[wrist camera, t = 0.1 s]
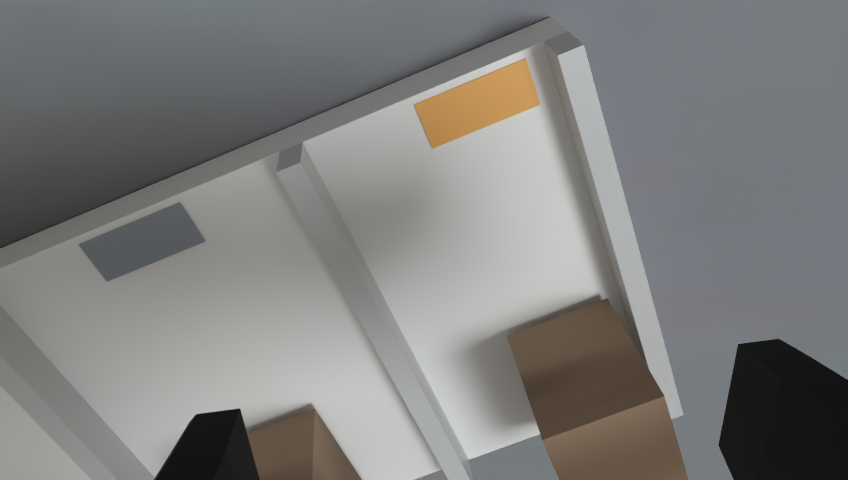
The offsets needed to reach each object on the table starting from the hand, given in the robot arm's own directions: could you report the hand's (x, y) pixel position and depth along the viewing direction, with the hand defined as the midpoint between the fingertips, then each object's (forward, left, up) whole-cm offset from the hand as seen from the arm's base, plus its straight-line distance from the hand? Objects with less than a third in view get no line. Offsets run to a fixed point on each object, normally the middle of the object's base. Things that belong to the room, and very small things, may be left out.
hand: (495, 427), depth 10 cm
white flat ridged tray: (-6, +6, -10) cm, 13 cm away
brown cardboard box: (-7, -4, -8) cm, 11 cm away
